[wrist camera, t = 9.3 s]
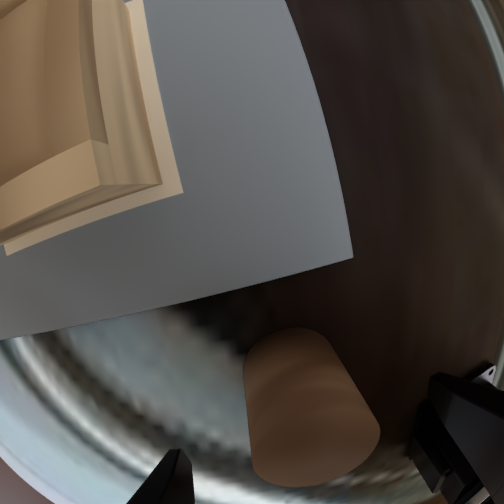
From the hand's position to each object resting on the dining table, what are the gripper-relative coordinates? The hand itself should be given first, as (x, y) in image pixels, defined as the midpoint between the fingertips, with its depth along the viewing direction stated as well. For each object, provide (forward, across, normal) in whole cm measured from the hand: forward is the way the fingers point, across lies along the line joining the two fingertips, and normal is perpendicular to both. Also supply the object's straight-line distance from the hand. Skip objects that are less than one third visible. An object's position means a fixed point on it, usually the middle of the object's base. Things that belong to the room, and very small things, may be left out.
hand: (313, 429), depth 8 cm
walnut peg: (+4, 0, 0) cm, 4 cm away
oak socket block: (+3, +6, -12) cm, 14 cm away
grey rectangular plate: (+4, +6, -12) cm, 14 cm away
